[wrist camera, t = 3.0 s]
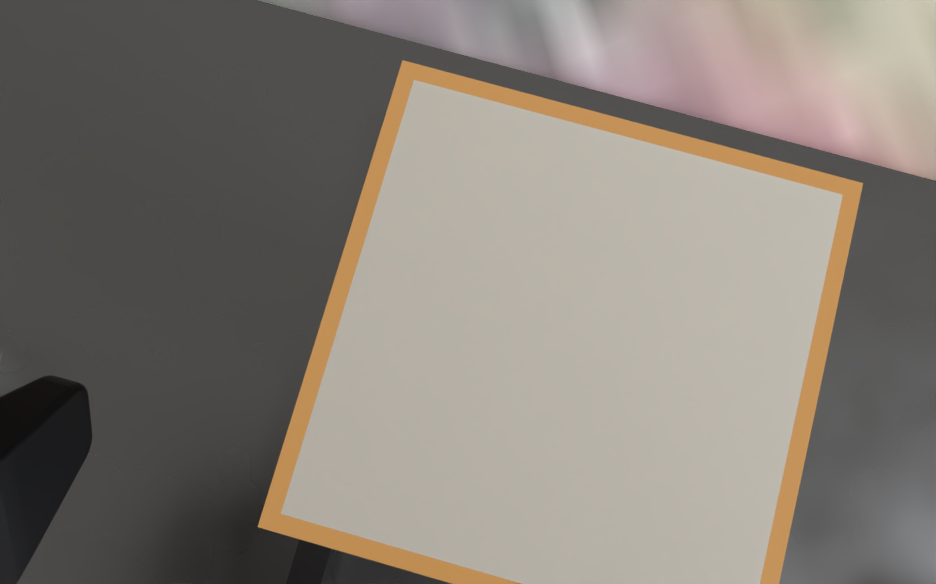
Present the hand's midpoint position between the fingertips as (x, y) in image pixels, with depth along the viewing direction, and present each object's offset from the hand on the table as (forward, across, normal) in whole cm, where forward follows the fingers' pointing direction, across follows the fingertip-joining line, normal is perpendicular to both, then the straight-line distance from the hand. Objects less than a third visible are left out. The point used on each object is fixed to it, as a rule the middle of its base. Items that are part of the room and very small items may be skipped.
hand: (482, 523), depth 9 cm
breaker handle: (+6, 0, +4) cm, 8 cm away
